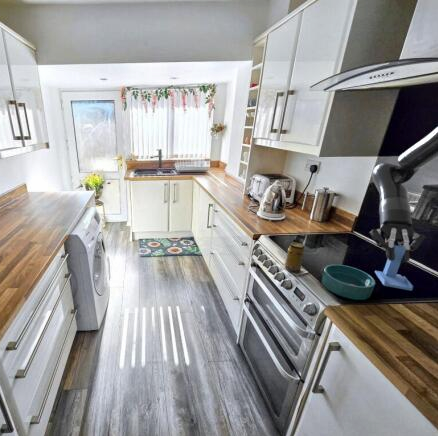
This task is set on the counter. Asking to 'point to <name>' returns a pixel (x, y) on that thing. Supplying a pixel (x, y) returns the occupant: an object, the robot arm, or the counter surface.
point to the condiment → (294, 259)
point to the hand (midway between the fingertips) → (398, 260)
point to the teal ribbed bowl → (348, 282)
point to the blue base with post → (394, 272)
